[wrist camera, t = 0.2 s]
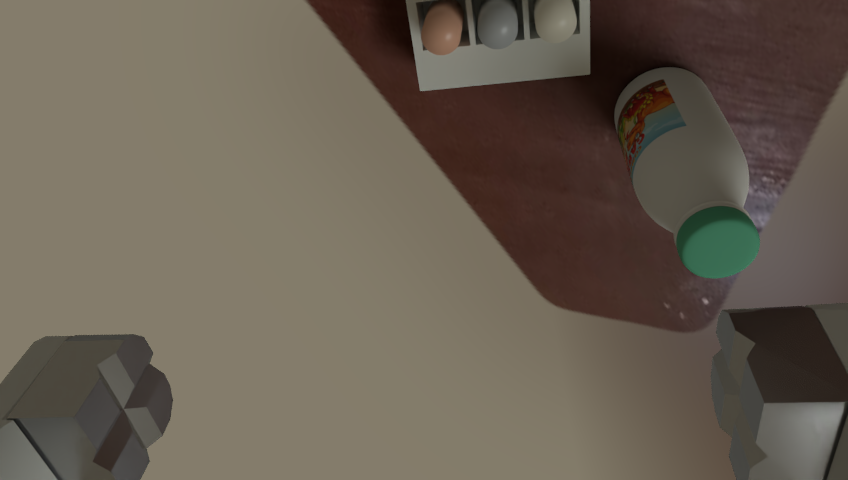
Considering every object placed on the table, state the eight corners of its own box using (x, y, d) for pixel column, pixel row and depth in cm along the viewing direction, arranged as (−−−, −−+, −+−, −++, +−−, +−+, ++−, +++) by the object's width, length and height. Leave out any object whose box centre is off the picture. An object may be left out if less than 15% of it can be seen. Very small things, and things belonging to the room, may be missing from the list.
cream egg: (532, -14, 50) (534, 5, 46) (571, -19, 49) (576, 0, 46) (534, 24, 51) (536, 45, 48) (572, 19, 51) (577, 40, 47)
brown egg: (424, -1, 51) (418, 18, 47) (461, -6, 50) (458, 14, 47) (429, 35, 53) (424, 57, 49) (465, 31, 52) (462, 53, 48)
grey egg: (477, -8, 50) (475, 12, 47) (515, -12, 50) (516, 7, 46) (481, 30, 52) (479, 51, 48) (518, 26, 51) (519, 47, 48)
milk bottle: (693, 47, 54) (773, 177, 37) (720, 127, 57) (803, 276, 41) (599, 88, 56) (636, 225, 40) (630, 162, 60) (675, 314, 44)
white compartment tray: (406, -58, 51) (398, -43, 47) (583, -82, 49) (589, -68, 45) (425, 69, 57) (420, 91, 53) (584, 52, 55) (590, 74, 51)
